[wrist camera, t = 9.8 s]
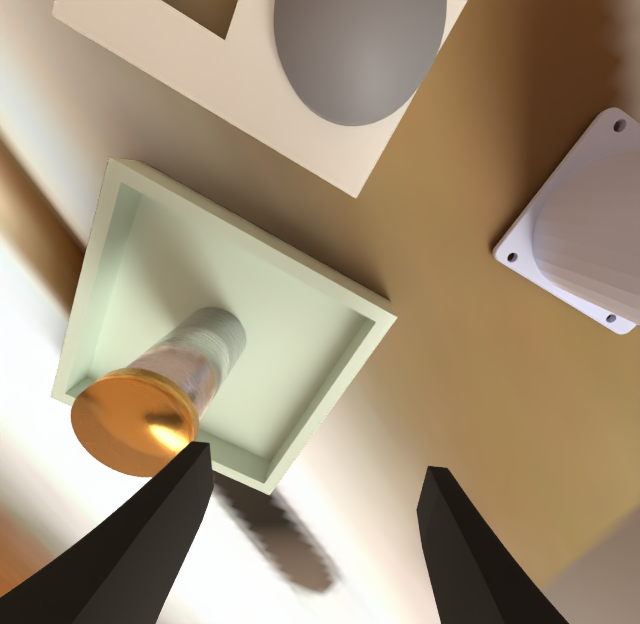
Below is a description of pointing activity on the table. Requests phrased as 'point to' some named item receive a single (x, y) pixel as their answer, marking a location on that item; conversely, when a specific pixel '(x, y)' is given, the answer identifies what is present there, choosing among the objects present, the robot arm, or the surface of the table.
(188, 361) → the jar
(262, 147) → the table surface
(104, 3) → the plate
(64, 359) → the tray
